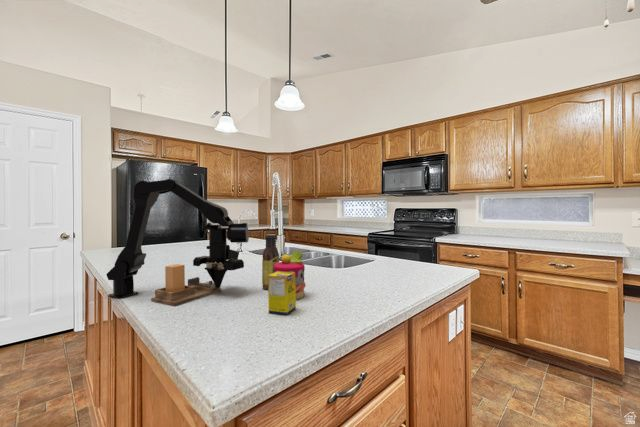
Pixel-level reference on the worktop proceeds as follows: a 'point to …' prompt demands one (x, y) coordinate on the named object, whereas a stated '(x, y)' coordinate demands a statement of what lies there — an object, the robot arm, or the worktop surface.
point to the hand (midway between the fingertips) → (218, 287)
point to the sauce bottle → (269, 258)
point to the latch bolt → (209, 285)
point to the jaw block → (175, 277)
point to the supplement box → (281, 292)
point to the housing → (183, 293)
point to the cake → (296, 266)
